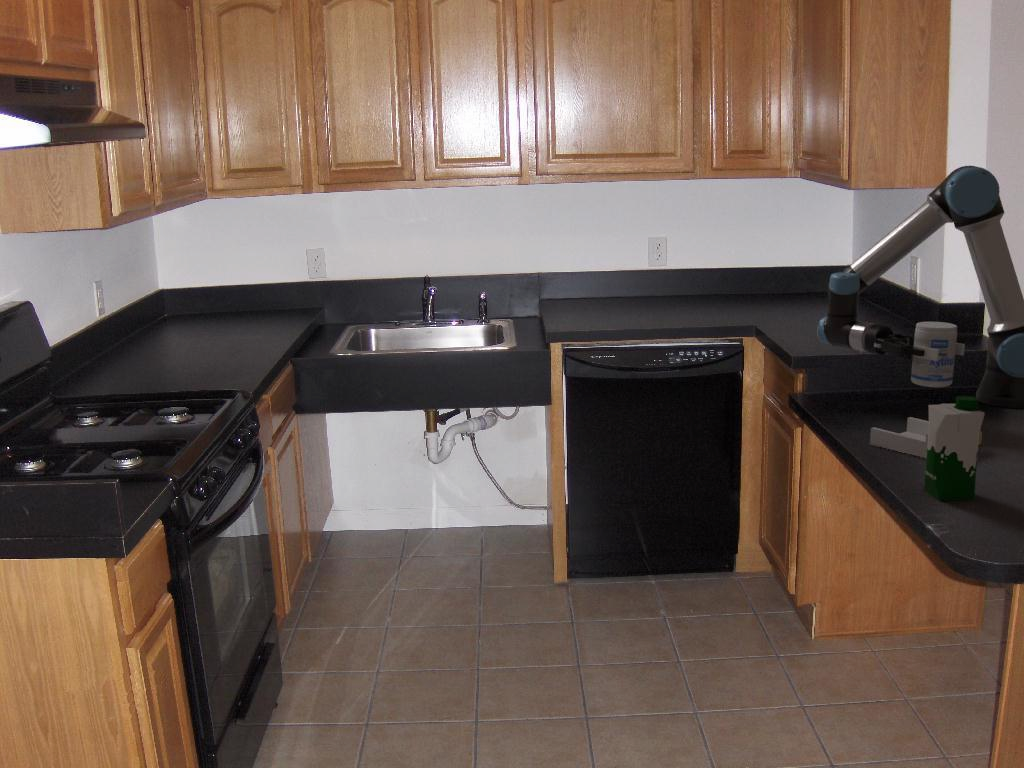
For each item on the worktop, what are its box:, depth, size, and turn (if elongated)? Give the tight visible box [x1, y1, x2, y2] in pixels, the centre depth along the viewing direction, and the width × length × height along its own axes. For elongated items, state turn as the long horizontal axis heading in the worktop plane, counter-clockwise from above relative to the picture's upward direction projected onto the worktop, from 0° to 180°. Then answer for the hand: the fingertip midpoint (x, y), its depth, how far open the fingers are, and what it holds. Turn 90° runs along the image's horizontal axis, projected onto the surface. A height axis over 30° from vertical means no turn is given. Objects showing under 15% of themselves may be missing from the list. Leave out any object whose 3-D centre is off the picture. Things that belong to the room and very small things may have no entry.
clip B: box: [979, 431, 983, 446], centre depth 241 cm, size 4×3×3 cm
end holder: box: [869, 416, 929, 458], centre depth 240 cm, size 15×15×6 cm
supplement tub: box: [910, 321, 958, 388], centre depth 252 cm, size 10×10×15 cm
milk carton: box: [923, 395, 986, 502], centre depth 207 cm, size 9×9×20 cm
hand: (950, 352), depth 248 cm, fingers closed on supplement tub, 9 cm apart
